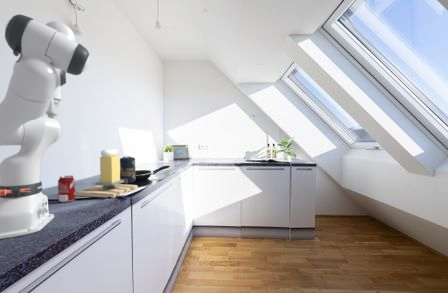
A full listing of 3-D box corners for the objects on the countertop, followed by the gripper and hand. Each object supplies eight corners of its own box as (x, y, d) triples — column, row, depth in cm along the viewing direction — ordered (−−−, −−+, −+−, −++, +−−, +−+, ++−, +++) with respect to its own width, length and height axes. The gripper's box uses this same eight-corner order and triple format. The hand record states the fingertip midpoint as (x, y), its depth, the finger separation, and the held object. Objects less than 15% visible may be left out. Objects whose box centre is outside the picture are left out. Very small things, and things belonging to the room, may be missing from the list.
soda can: (67, 203, 109) (66, 177, 109) (54, 202, 111) (54, 177, 110) (78, 199, 116) (78, 175, 115) (67, 199, 117) (66, 175, 117)
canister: (132, 184, 153) (131, 156, 152) (117, 184, 153) (117, 156, 152) (137, 181, 163) (137, 155, 162) (124, 181, 163) (123, 155, 162)
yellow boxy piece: (112, 185, 126) (111, 150, 125) (95, 184, 128) (94, 150, 127) (123, 182, 136) (123, 149, 135) (108, 181, 138) (107, 149, 137)
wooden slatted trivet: (113, 197, 119) (113, 189, 119) (76, 195, 124) (76, 187, 123) (137, 188, 141) (137, 181, 141) (105, 186, 145) (105, 180, 145)
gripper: (55, 92, 107) (56, 123, 107) (60, 99, 124) (61, 125, 125) (38, 91, 104) (39, 123, 104) (45, 98, 121) (46, 124, 122)
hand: (51, 124), depth 115 cm, fingers closed
